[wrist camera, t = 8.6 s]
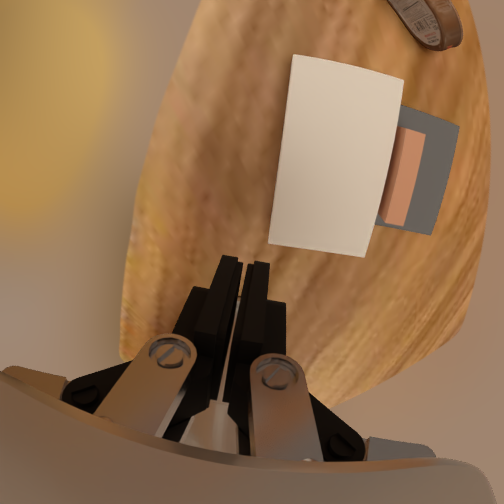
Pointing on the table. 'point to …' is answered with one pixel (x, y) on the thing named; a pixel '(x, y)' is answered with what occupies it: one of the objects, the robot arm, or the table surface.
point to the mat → (427, 169)
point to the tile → (401, 175)
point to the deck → (333, 155)
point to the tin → (431, 22)
